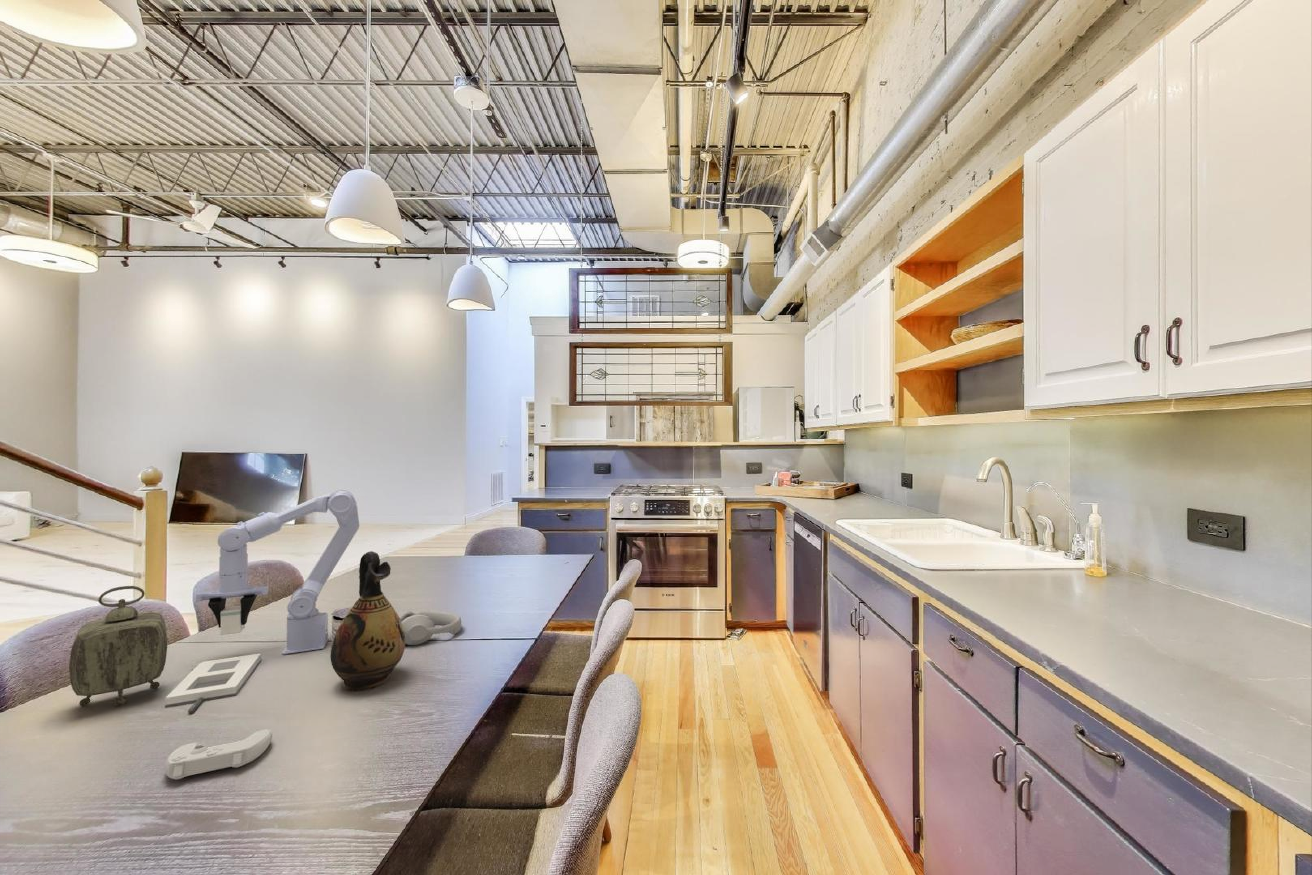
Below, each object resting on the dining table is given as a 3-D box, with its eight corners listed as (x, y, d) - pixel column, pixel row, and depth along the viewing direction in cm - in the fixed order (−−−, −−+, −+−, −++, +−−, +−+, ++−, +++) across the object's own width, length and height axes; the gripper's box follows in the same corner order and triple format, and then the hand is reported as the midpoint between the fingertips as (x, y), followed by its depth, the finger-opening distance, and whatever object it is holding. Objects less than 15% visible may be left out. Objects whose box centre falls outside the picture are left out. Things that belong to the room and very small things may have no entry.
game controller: (277, 722, 97) (261, 737, 88) (275, 747, 96) (259, 765, 87) (179, 739, 91) (152, 758, 82) (176, 767, 90) (149, 788, 81)
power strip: (260, 661, 131) (260, 652, 131) (226, 707, 108) (226, 697, 108) (201, 669, 126) (201, 661, 126) (151, 721, 103) (152, 710, 103)
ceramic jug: (415, 680, 121) (416, 553, 121) (342, 704, 109) (343, 564, 110) (389, 659, 132) (389, 544, 133) (320, 679, 121) (321, 553, 121)
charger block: (245, 627, 135) (245, 605, 135) (240, 632, 132) (240, 609, 132) (225, 630, 134) (225, 607, 134) (220, 635, 130) (220, 611, 130)
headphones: (410, 651, 136) (472, 638, 153) (414, 621, 137) (475, 611, 154) (372, 638, 146) (434, 627, 162) (376, 610, 147) (437, 601, 163)
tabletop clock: (166, 684, 119) (167, 577, 119) (166, 697, 112) (168, 584, 113) (72, 706, 109) (74, 589, 109) (66, 722, 102) (69, 598, 103)
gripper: (271, 566, 139) (271, 616, 139) (204, 572, 133) (203, 624, 133) (264, 572, 133) (263, 624, 133) (193, 578, 127) (192, 633, 127)
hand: (233, 625), depth 133 cm, fingers closed on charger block, 4 cm apart
